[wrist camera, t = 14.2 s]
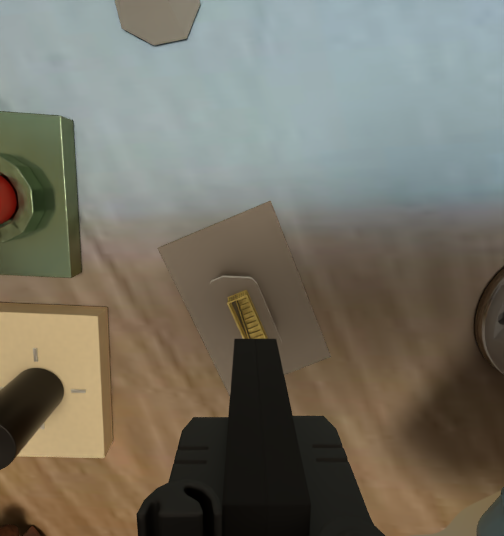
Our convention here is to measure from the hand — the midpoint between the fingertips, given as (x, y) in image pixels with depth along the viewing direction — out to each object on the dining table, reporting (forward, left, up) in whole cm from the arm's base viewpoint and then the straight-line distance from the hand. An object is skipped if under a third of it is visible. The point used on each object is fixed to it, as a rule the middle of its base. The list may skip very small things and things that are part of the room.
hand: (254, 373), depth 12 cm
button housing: (+18, +13, -22) cm, 31 cm away
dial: (+3, +24, -19) cm, 31 cm away
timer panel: (+3, +24, -22) cm, 33 cm away
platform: (-4, +3, -22) cm, 23 cm away
